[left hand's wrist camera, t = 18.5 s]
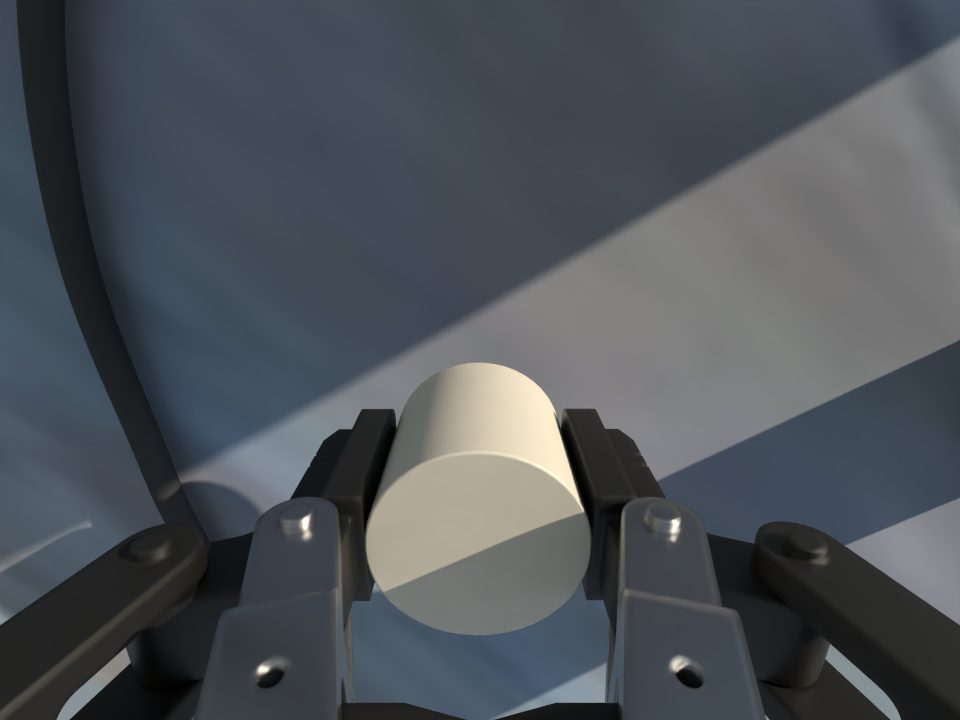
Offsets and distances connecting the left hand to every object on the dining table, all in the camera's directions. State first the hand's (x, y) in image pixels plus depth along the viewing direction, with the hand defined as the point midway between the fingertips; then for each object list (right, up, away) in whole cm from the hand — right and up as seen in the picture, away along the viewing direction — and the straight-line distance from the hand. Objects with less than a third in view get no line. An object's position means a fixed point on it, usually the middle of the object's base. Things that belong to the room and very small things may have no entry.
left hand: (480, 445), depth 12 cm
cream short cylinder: (0, 0, 0) cm, 0 cm away
